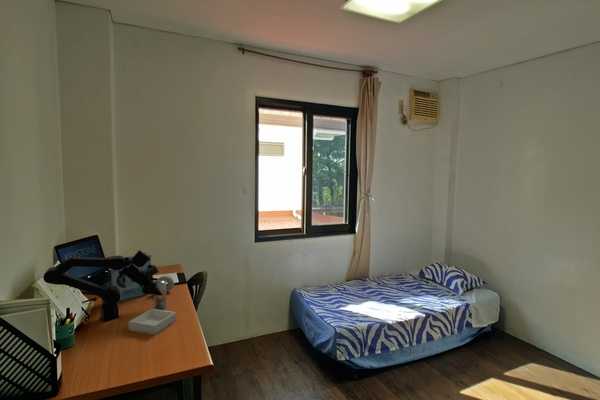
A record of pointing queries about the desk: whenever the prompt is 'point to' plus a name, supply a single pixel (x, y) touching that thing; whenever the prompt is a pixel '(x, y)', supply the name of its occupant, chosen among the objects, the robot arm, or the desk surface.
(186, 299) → the desk surface
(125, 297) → the gum box
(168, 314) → the tray
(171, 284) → the donut
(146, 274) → the robot arm
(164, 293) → the tin
